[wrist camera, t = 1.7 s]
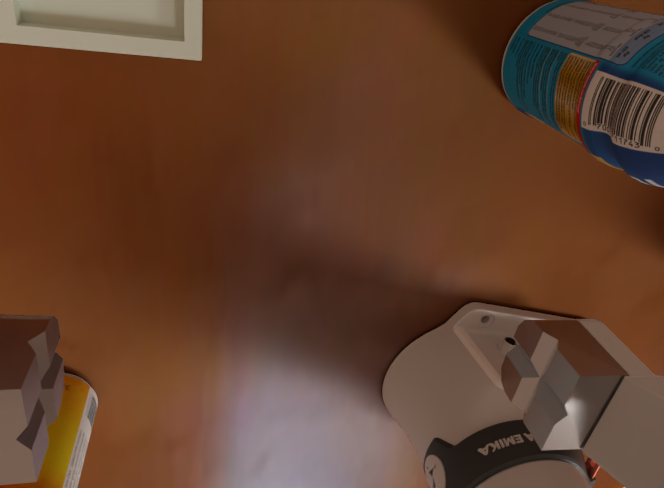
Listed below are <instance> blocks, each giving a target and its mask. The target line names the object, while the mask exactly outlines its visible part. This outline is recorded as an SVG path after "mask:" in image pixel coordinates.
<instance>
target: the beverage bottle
mask: <svg viewBox="0 0 664 488" xmlns="http://www.w3.org/2000/svg"><path fill="white" fill-rule="evenodd" d="M501 77H502V84H503V88H504V91H505V93H506V95H507V97H508V99H509V101H510V102H511V103H512V104H513V105H514V106H515V107H516V108H517V109H518V110H519V111H521V112H523V113H524V114H526V115H528V116H530V117H532V118H535V119H538V120H540V121H542V122H543V123H545V124H547V125H549V126H550V127H552V128H554V129H555V130H557V131H559V132H560V133H562V134H564V135H565V136H567V137H569V138H570V139H572V140H574V141H575V142H577V143H579V144H580V145H582V146H584V147H585V149H586V150H587V151H588V152H589V153H590V154H591V155H592V156H593V157H594V158H596V159H597V160H599V161H600V162H602V163H604V164H606V165H608V166H610V167H613V168H616V169H619V170H624V171H625V172H626V173H627V174H628V175H629V176H631V177H632V178H634V179H636V180H637V181H640V182H642V183H645V184H648V185H652V186H657V187H663V188H664V15H657V14H651V13H646V12H640V11H634V10H628V9H623V8H617V7H611V6H606V5H600V4H595V3H592V2H589V1H586V0H555V1H552V2H549V3H547V4H545V5H543V6H541V7H539V8H538V9H536V10H535V11H533V12H532V13H531V14H530V15H528V16H527V17H526V18H525V19H524V20H523V21H522V22H521V23H520V25H519V26H518V27H517V29H516V30H515V31H514V33H513V35H512V36H511V38H510V40H509V42H508V44H507V47H506V49H505V52H504V56H503V60H502V68H501Z"/></svg>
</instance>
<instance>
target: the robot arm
mask: <svg viewBox="0 0 664 488" xmlns="http://www.w3.org/2000/svg"><path fill="white" fill-rule="evenodd" d="M484 316H485V317H484ZM482 317H483V318H482ZM59 340H60V330H59V324H58V320H57V318H56V317H55V316H43V315H7V314H0V485H8V484H19V483H31V482H37V479H38V476H39V473H40V470H41V467H42V463H43V460H44V457H45V454H46V451H47V448H48V445H49V439H48V432H47V427H48V426H49V425H50V424H51V423H53V422H54V421H55V420H56V419H57V416H58V413H59V409H60V406H61V401H62V395H63V388H64V364H63V359H62V358H61V357H60V356H59V355H58V354H57V353H56V352H55V351H56V348H57V345H58V342H59ZM382 395H383V401H384V404H385V406H386V408H387V410H388V411H389V413H390V414H391V415H392V416H393V417H394V418H395V420H396V421H397V422H398V423H399V425H400V426H401V427H402V429H403V430H404V432H405V433H406V435H407V437H408V438H409V440H410V441H411V443H412V445H413V446H414V448H415V450H416V452H417V454H418V455H419V457H420V459H421V461H422V463H423V465H424V472H425V475H426V478H427V482H428V486H429V488H592V487H593V486H594V484H595V482H596V479H595V477H594V476H595V475H596V473H597V471H598V469H599V467H601V468H603V469H604V470H605V471H606V472H607V473H609V474H610V475H611V476H612V477H614V478H615V479H616V480H617V481H618V482H620V483H621V484H622V485H623V486H625V487H626V488H664V376H655V375H654V374H653V373H652V372H651V371H650V370H649V369H648V368H647V367H646V366H645V365H644V364H643V363H642V362H641V361H640V360H639V359H638V358H637V357H636V356H635V355H634V354H633V353H632V352H631V351H630V350H629V349H628V348H627V347H626V346H625V345H624V344H623V343H622V342H621V341H620V340H619V339H618V338H617V337H616V336H615V335H614V334H613V333H612V332H611V331H610V330H609V329H608V328H607V327H606V326H605V325H604V324H603V323H602V322H600V321H598V320H596V319H572V318H566V317H560V316H554V315H549V314H543V313H537V312H531V311H526V310H520V309H514V308H508V307H503V306H497V305H491V304H485V303H479V302H472V303H469V304H467V305H465V306H463V307H462V308H461V309H460V310H459V311H457V312H456V313H455V314H454V315H453V316H452V317H451V318H450V319H449V320H448V321H447V322H446V323H445V324H443V325H441V326H440V327H438V328H436V329H434V330H432V331H430V332H428V333H426V334H424V335H423V336H421V337H419V338H418V339H416V340H415V341H414V342H412V343H411V344H410V345H408V346H407V347H406V348H405V349H404V350H403V351H402V352H401V353H400V354H399V355H398V356H397V357H396V359H395V360H394V361H393V363H392V364H391V366H390V368H389V369H388V371H387V374H386V376H385V379H384V382H383V389H382ZM582 449H583V450H582ZM583 453H584V454H585V455H587V456H588V459H587V461H586V463H585V461H584V456H583Z"/></svg>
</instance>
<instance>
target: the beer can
mask: <svg viewBox="0 0 664 488" xmlns="http://www.w3.org/2000/svg"><path fill="white" fill-rule="evenodd" d="M97 406H98V398H97V395H96V393H95V391H94V390H93V389H92V388H91V386H90V385H89V384H88V383H87V382H86V381H85V380H83V379H82V378H80V377H78V376H76V375H73V374H69V373H64V388H63V395H62V401H61V406H60V409H59V413H58V416H57V419H56V420H55V421H54V422H53V423H51V424H50V425H49V426H48V427H47V432H48V439H49V445H48V448H47V451H46V454H45V457H44V460H43V463H42V467H41V470H40V473H39V476H38V479H37V482H31V483H19V484H8V485H0V488H77V487H78V483H79V479H80V475H81V471H82V467H83V463H84V458H85V454H86V450H87V446H88V442H89V438H90V434H91V430H92V426H93V422H94V418H95V414H96V410H97Z"/></svg>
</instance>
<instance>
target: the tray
mask: <svg viewBox="0 0 664 488" xmlns="http://www.w3.org/2000/svg"><path fill="white" fill-rule="evenodd" d="M202 15H203V0H0V42H1V43H12V44H23V45H34V46H45V47H56V48H67V49H78V50H89V51H100V52H110V53H121V54H132V55H143V56H154V57H165V58H176V59H187V60H198V61H202Z"/></svg>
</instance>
